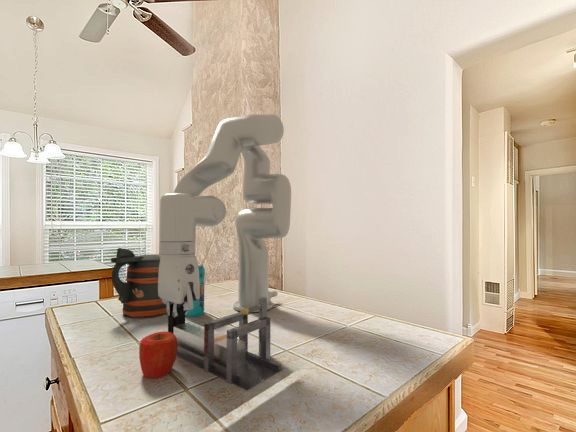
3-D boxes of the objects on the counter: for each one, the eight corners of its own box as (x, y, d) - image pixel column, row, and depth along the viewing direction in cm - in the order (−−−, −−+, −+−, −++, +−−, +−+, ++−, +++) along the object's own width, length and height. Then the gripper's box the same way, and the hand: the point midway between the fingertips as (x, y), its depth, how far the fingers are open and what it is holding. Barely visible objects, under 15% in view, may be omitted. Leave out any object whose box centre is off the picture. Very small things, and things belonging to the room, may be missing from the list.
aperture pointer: (262, 356, 61) (262, 296, 61) (268, 359, 60) (268, 297, 60) (239, 368, 56) (239, 302, 56) (245, 370, 55) (245, 304, 55)
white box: (173, 345, 64) (173, 326, 64) (190, 340, 67) (190, 321, 67) (228, 372, 53) (228, 348, 53) (245, 364, 56) (245, 341, 56)
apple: (174, 385, 50) (174, 339, 50) (134, 389, 49) (134, 342, 49) (179, 367, 56) (180, 326, 57) (143, 370, 55) (144, 329, 55)
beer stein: (134, 326, 79) (135, 249, 80) (96, 319, 85) (97, 247, 85) (185, 307, 97) (185, 244, 97) (150, 303, 102) (151, 243, 103)
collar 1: (243, 357, 61) (243, 311, 61) (247, 359, 60) (247, 312, 60) (203, 375, 53) (204, 323, 54) (208, 378, 53) (208, 324, 53)
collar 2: (265, 366, 57) (265, 316, 57) (270, 368, 56) (270, 317, 56) (226, 387, 50) (226, 330, 50) (231, 389, 49) (231, 332, 49)
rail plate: (181, 333, 74) (181, 325, 74) (283, 374, 54) (283, 362, 54) (145, 345, 67) (145, 336, 67) (247, 396, 47) (247, 383, 47)
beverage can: (198, 321, 83) (198, 266, 84) (179, 319, 85) (179, 265, 85) (207, 314, 89) (208, 263, 89) (189, 313, 90) (190, 262, 91)
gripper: (212, 250, 66) (211, 336, 65) (174, 246, 75) (173, 322, 74) (181, 252, 60) (179, 347, 59) (144, 248, 69) (143, 330, 69)
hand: (176, 333), depth 67 cm, fingers closed
